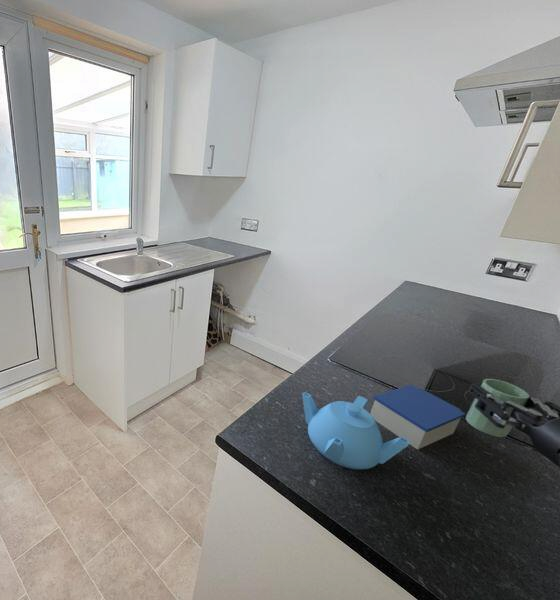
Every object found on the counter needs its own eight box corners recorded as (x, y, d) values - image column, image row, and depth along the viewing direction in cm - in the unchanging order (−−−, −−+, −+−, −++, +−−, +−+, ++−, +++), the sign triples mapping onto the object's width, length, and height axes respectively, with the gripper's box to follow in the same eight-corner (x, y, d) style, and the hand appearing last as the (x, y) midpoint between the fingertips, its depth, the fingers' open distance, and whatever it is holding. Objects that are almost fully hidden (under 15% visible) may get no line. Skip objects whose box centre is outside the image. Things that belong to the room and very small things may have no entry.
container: (406, 402, 84) (414, 383, 81) (458, 432, 74) (469, 412, 72) (367, 416, 77) (374, 396, 75) (418, 451, 68) (427, 429, 65)
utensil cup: (474, 412, 65) (492, 376, 62) (513, 432, 60) (535, 394, 57) (459, 419, 63) (477, 382, 60) (498, 440, 58) (519, 401, 55)
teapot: (401, 480, 60) (420, 437, 57) (324, 477, 60) (338, 433, 56) (355, 423, 75) (368, 386, 71) (293, 421, 74) (302, 383, 71)
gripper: (660, 443, 44) (536, 375, 60) (551, 433, 45) (458, 369, 61) (630, 482, 47) (519, 407, 62) (527, 471, 48) (444, 400, 63)
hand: (489, 389), depth 62 cm, fingers closed on utensil cup, 6 cm apart
